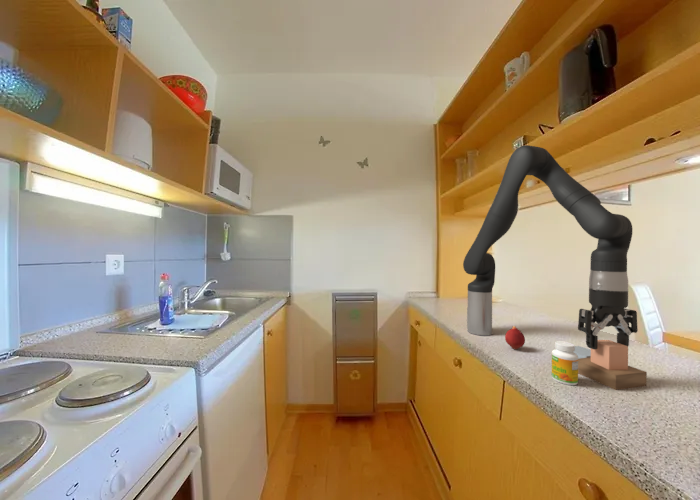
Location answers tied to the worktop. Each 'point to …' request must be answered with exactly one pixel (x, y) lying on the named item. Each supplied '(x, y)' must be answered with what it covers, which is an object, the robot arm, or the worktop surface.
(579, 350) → the slate block
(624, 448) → the worktop surface
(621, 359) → the terracotta block
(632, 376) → the walnut block
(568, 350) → the supplement bottle
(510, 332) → the red oval lump
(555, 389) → the worktop surface
